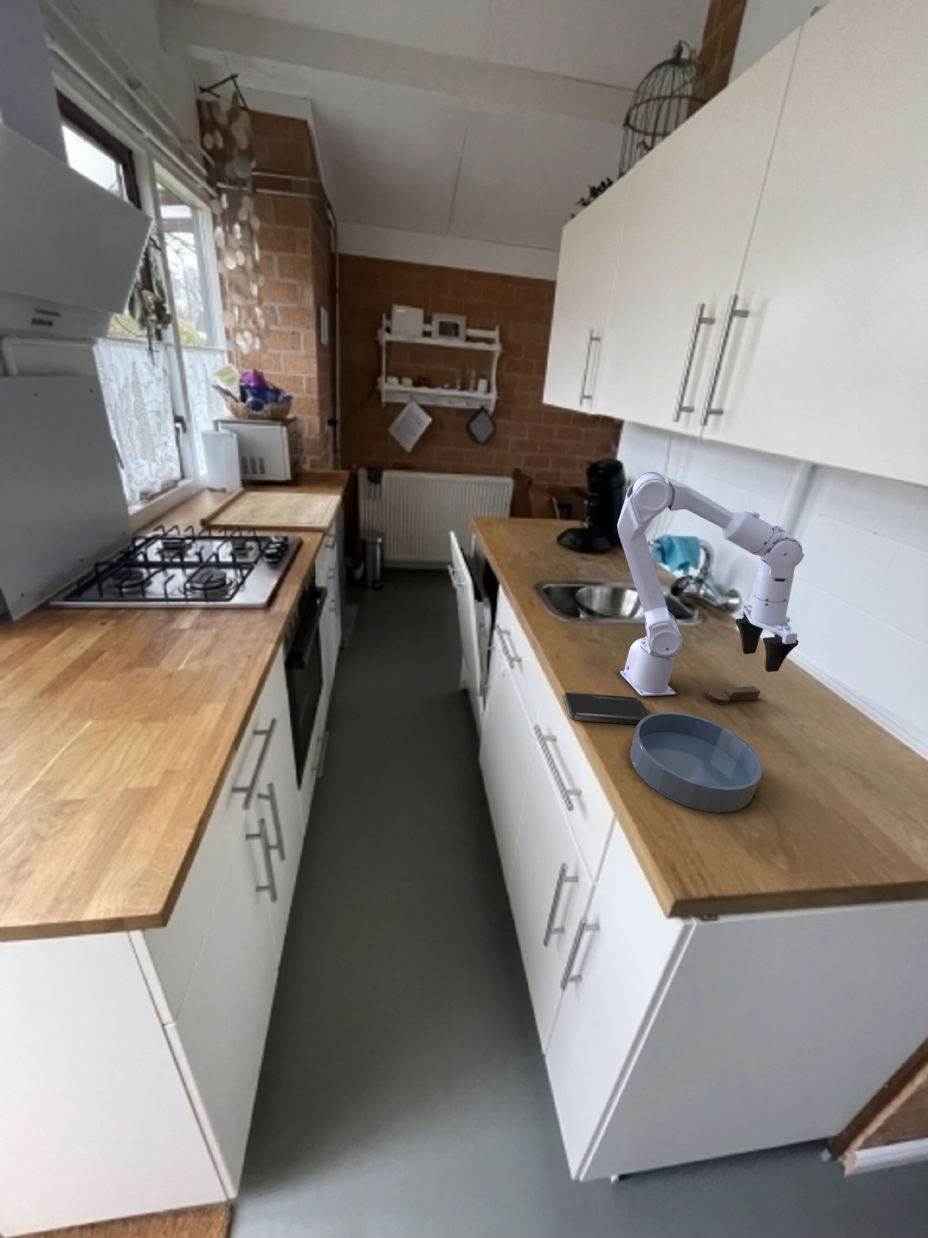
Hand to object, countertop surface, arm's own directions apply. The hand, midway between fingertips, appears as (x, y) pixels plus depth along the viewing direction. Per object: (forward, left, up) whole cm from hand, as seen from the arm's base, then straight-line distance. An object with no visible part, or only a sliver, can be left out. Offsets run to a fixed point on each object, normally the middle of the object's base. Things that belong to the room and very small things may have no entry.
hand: (759, 661), depth 101 cm
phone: (0, -31, -10) cm, 33 cm away
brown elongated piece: (-2, -1, -10) cm, 10 cm away
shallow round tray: (+17, -24, -10) cm, 31 cm away
